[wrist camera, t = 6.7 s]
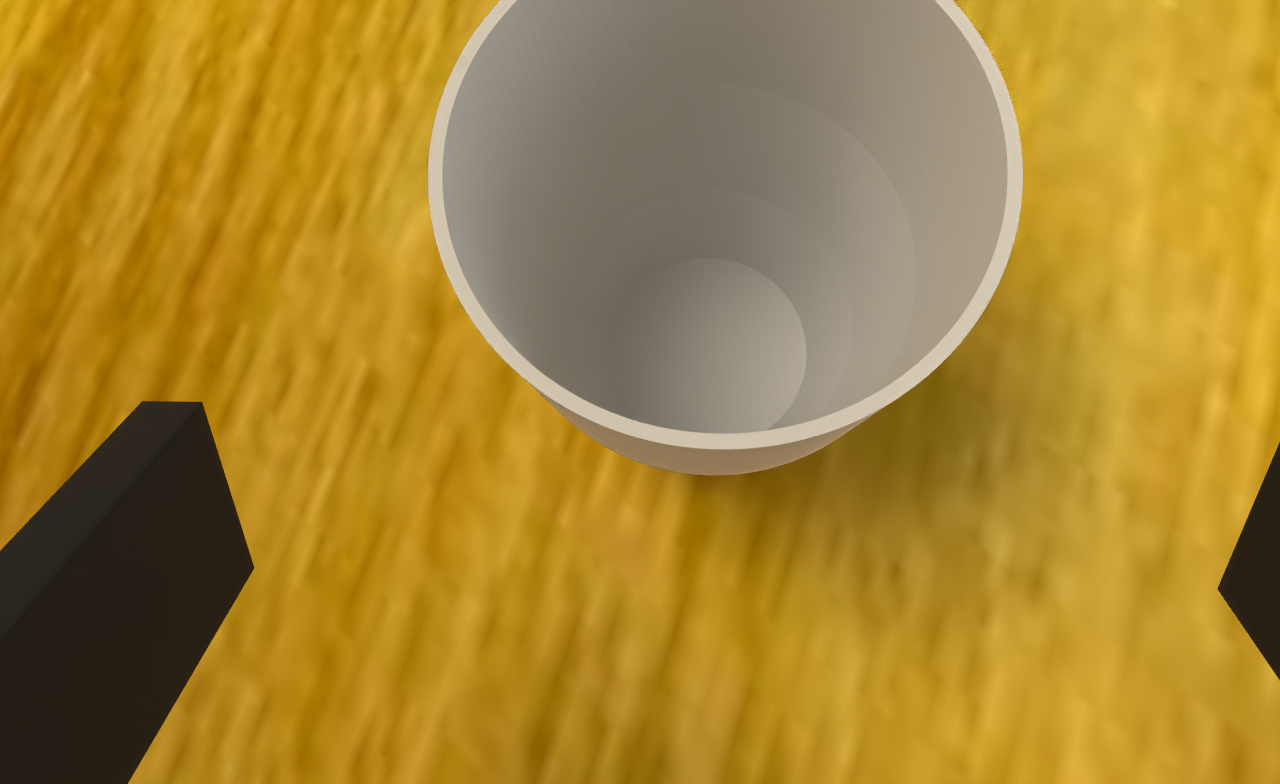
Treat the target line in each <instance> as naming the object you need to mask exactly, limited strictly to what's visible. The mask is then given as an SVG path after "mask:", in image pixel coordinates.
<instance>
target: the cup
mask: <svg viewBox="0 0 1280 784" xmlns="http://www.w3.org/2000/svg"><path fill="white" fill-rule="evenodd" d="M1022 190H1023V162H1022V150H1021V142H1020V135H1019V130H1018V124H1017V120H1016V116H1015V112H1014V108H1013V105H1012V102H1011V98H1010V95H1009V92H1008V90H1007V87H1006V84H1005V82H1004V79H1003V77H1002V75H1001V72H1000V70H999V68H998V66H997V64H996V62H995V60H994V58H993V56H992V54H991V53H990V51H989V49H988V47H987V46H986V44H985V42H984V41H983V39H982V38H981V36H980V34H979V33H978V32H977V30H976V29H975V27H974V26H973V24H972V23H971V22H970V21H969V19H968V18H967V17H966V15H965V14H964V13H963V12H962V11H961V9H960V8H959V7H958V6H957V5H956V4H955V2H954V1H953V0H500V1H499V2H498V3H497V4H496V6H495V7H494V8H493V9H492V10H491V11H490V12H489V14H488V15H487V16H486V17H485V19H484V20H483V21H482V23H481V24H480V25H479V27H478V28H477V29H476V31H475V32H474V34H473V35H472V37H471V38H470V40H469V41H468V43H467V44H466V46H465V48H464V49H463V51H462V53H461V55H460V57H459V58H458V60H457V62H456V64H455V66H454V68H453V70H452V72H451V75H450V77H449V79H448V82H447V84H446V87H445V89H444V92H443V95H442V98H441V100H440V104H439V107H438V110H437V114H436V118H435V122H434V126H433V132H432V137H431V144H430V151H429V163H428V194H429V206H430V213H431V220H432V225H433V231H434V235H435V239H436V243H437V247H438V250H439V253H440V257H441V259H442V262H443V265H444V268H445V270H446V273H447V275H448V278H449V280H450V282H451V284H452V286H453V289H454V291H455V293H456V295H457V297H458V298H459V300H460V302H461V304H462V306H463V307H464V309H465V311H466V312H467V314H468V315H469V317H470V319H471V320H472V321H473V323H474V324H475V326H476V327H477V329H478V330H479V331H480V333H481V334H482V335H483V337H484V338H485V339H486V340H487V342H488V343H489V344H490V345H491V346H492V347H493V349H494V350H495V351H496V352H497V353H498V354H499V355H500V356H501V357H502V358H503V359H504V360H505V361H506V362H507V363H508V364H509V365H510V366H511V367H512V368H513V369H514V370H515V371H516V372H517V373H518V374H519V375H520V376H521V377H523V378H524V379H525V380H526V381H527V382H528V383H529V384H530V385H531V386H532V387H533V388H534V389H535V390H536V391H538V392H539V393H540V394H541V395H542V396H543V397H544V398H545V399H546V400H547V401H548V402H549V403H550V404H551V405H553V406H554V407H555V408H556V409H557V410H558V411H559V412H560V413H561V414H562V415H563V416H564V417H565V418H566V419H567V420H569V421H570V422H571V423H572V424H573V425H574V426H576V427H577V428H578V429H579V430H581V431H582V432H583V433H585V434H586V435H587V436H589V437H590V438H592V439H593V440H595V441H596V442H598V443H600V444H601V445H603V446H605V447H607V448H608V449H610V450H612V451H614V452H616V453H618V454H620V455H622V456H625V457H627V458H629V459H632V460H634V461H637V462H640V463H642V464H645V465H649V466H652V467H655V468H659V469H663V470H668V471H672V472H678V473H685V474H694V475H714V476H719V475H736V474H745V473H752V472H757V471H762V470H766V469H771V468H774V467H778V466H781V465H784V464H787V463H790V462H793V461H796V460H798V459H801V458H803V457H805V456H807V455H810V454H812V453H814V452H816V451H818V450H820V449H822V448H823V447H825V446H827V445H829V444H830V443H832V442H833V441H835V440H836V439H838V438H840V437H841V436H843V435H844V434H846V433H847V432H848V431H850V430H851V429H853V428H854V427H856V426H857V425H859V424H860V423H862V422H863V421H865V420H866V419H868V418H869V417H871V416H872V415H874V414H875V413H877V412H878V411H880V410H881V409H883V408H884V407H886V406H887V405H889V404H890V403H892V402H893V401H895V400H896V399H898V398H899V397H900V396H902V395H903V394H905V393H906V392H908V391H909V390H910V389H912V388H913V387H914V386H916V385H917V384H918V383H920V382H921V381H922V380H923V379H924V378H926V377H927V376H928V375H929V374H930V373H931V372H933V371H934V370H935V369H936V368H937V367H938V366H939V365H940V364H941V363H942V362H943V361H944V360H945V359H946V358H947V357H948V356H949V355H950V354H951V353H952V352H953V351H954V350H955V349H956V347H957V346H958V345H959V344H960V343H961V342H962V340H963V339H964V338H965V337H966V335H967V334H968V333H969V332H970V330H971V329H972V328H973V326H974V325H975V323H976V322H977V321H978V319H979V317H980V316H981V314H982V313H983V311H984V310H985V308H986V306H987V305H988V303H989V301H990V299H991V298H992V296H993V294H994V292H995V290H996V288H997V286H998V284H999V282H1000V279H1001V277H1002V275H1003V272H1004V270H1005V267H1006V265H1007V262H1008V259H1009V257H1010V253H1011V250H1012V247H1013V244H1014V240H1015V236H1016V232H1017V227H1018V222H1019V217H1020V210H1021V202H1022Z"/></svg>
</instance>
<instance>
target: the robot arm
mask: <svg viewBox="0 0 1280 784" xmlns="http://www.w3.org/2000/svg"><path fill="white" fill-rule="evenodd" d="M253 569H254V565H253V562H252V559H251V556H250V553H249V550H248V546H247V543H246V540H245V537H244V534H243V531H242V527H241V524H240V521H239V518H238V515H237V511H236V508H235V505H234V502H233V499H232V496H231V492H230V489H229V486H228V483H227V480H226V477H225V473H224V470H223V467H222V464H221V461H220V457H219V454H218V451H217V448H216V445H215V442H214V438H213V435H212V432H211V429H210V426H209V423H208V419H207V416H206V413H205V410H204V407H203V404H202V402H159V401H142V402H141V403H140V404H139V405H138V406H137V407H136V408H135V410H134V411H133V412H132V413H131V414H130V415H129V416H128V417H127V418H126V419H125V420H124V421H123V422H122V423H121V424H120V425H119V426H118V427H117V428H116V430H115V431H114V432H113V433H112V434H111V435H110V436H109V437H108V438H107V439H106V440H105V441H104V442H103V443H102V444H101V445H100V446H99V447H98V449H97V450H96V451H95V452H94V453H93V454H92V455H91V456H90V457H89V458H88V459H87V460H86V461H85V462H84V463H83V464H82V465H81V466H80V467H79V469H78V470H77V471H76V472H75V473H74V474H73V475H72V476H71V477H70V478H69V479H68V480H67V481H66V482H65V483H64V484H63V485H62V486H61V487H60V489H59V490H58V491H57V492H56V493H55V494H54V495H53V496H52V497H51V498H50V499H49V500H48V501H47V502H46V503H45V504H44V505H43V506H42V508H41V509H40V510H39V511H38V512H37V513H36V514H35V515H34V516H33V517H32V518H31V519H30V520H29V521H28V522H27V523H26V524H25V525H24V526H23V528H22V529H21V530H20V531H19V532H18V533H17V534H16V535H15V536H14V537H13V538H12V539H11V540H10V541H9V542H8V543H7V544H6V545H5V546H4V548H3V549H2V550H1V551H0V784H128V782H129V781H130V779H131V777H132V775H133V774H134V772H135V770H136V769H137V767H138V765H139V764H140V762H141V760H142V758H143V757H144V755H145V753H146V752H147V750H148V748H149V746H150V745H151V743H152V741H153V740H154V738H155V736H156V735H157V733H158V731H159V729H160V728H161V726H162V724H163V723H164V721H165V719H166V718H167V716H168V714H169V712H170V711H171V709H172V707H173V706H174V704H175V702H176V700H177V699H178V697H179V695H180V694H181V692H182V690H183V689H184V687H185V685H186V683H187V682H188V680H189V678H190V677H191V675H192V673H193V672H194V670H195V668H196V666H197V665H198V663H199V661H200V660H201V658H202V656H203V655H204V653H205V651H206V649H207V648H208V646H209V644H210V643H211V641H212V639H213V637H214V636H215V634H216V632H217V631H218V629H219V627H220V626H221V624H222V622H223V620H224V619H225V617H226V615H227V614H228V612H229V610H230V609H231V607H232V605H233V603H234V602H235V600H236V598H237V597H238V595H239V593H240V592H241V590H242V588H243V586H244V585H245V583H246V581H247V580H248V578H249V576H250V574H251V573H252V571H253ZM1218 591H1219V592H1220V593H1221V595H1222V596H1223V598H1224V599H1225V601H1226V602H1227V604H1228V605H1229V607H1230V608H1231V610H1232V611H1233V612H1234V614H1235V615H1236V617H1237V618H1238V620H1239V621H1240V623H1241V624H1242V626H1243V627H1244V629H1245V630H1246V631H1247V633H1248V634H1249V636H1250V637H1251V639H1252V640H1253V642H1254V643H1255V645H1256V646H1257V648H1258V649H1259V650H1260V652H1261V653H1262V655H1263V656H1264V658H1265V659H1266V661H1267V662H1268V664H1269V665H1270V667H1271V668H1272V670H1273V671H1274V672H1275V674H1276V675H1277V677H1278V678H1279V680H1280V443H1279V445H1278V448H1277V450H1276V452H1275V455H1274V457H1273V459H1272V462H1271V464H1270V466H1269V469H1268V471H1267V473H1266V476H1265V478H1264V481H1263V483H1262V485H1261V488H1260V490H1259V492H1258V495H1257V497H1256V499H1255V502H1254V504H1253V506H1252V509H1251V511H1250V513H1249V516H1248V518H1247V521H1246V523H1245V525H1244V528H1243V530H1242V532H1241V535H1240V537H1239V539H1238V542H1237V544H1236V546H1235V549H1234V551H1233V554H1232V556H1231V558H1230V561H1229V563H1228V565H1227V568H1226V570H1225V572H1224V575H1223V577H1222V579H1221V582H1220V584H1219V587H1218Z"/></svg>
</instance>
